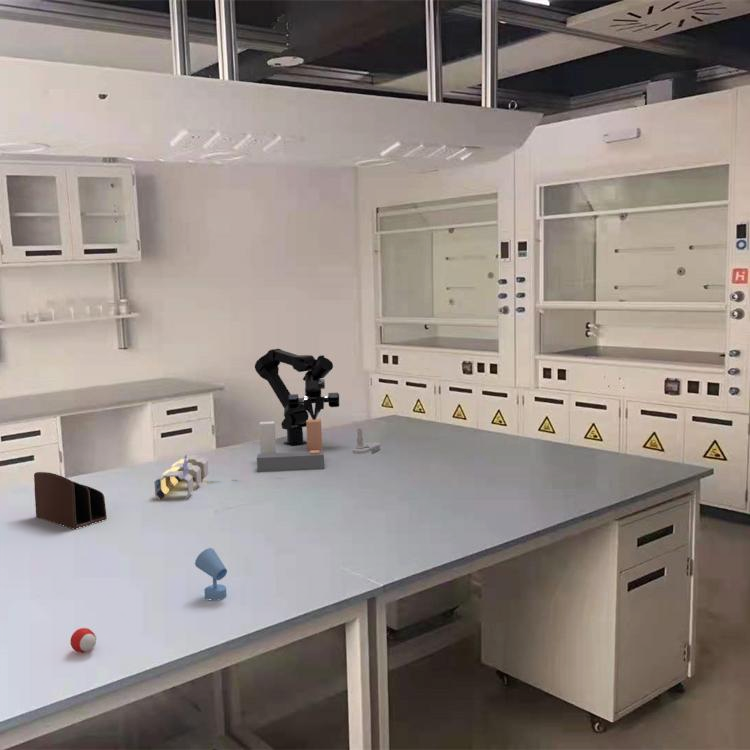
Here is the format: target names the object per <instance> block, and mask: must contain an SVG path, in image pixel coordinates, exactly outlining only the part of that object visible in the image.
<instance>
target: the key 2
mask: <svg viewBox="0 0 750 750" xmlns="http://www.w3.org/2000/svg"><path fill="white" fill-rule="evenodd" d="M306 426H307V427H306V444H307V445H306V446H307V448H306V449H307V451H313V450H319V451H323V438H322V437H323V436H322V434H323V433H322V419H317V418H316V420H313V419H308V420H306Z"/></svg>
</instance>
